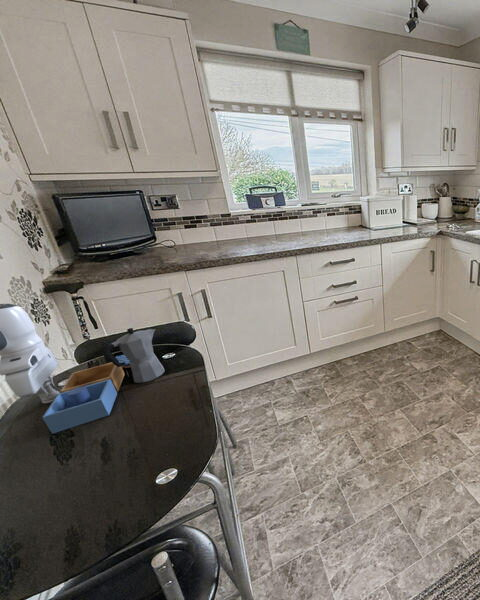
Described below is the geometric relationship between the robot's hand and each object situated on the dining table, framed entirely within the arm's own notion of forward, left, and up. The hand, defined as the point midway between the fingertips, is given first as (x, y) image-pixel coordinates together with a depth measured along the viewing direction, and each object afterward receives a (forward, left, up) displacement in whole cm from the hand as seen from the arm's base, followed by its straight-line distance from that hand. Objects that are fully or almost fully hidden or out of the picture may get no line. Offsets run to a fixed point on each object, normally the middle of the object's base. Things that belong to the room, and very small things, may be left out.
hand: (48, 392), depth 102 cm
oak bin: (+12, -2, -3) cm, 13 cm away
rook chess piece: (0, 0, -3) cm, 3 cm away
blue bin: (+12, -16, -3) cm, 20 cm away
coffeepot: (+25, -4, -3) cm, 26 cm away
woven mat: (+18, +13, -3) cm, 22 cm away
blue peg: (+12, -16, -2) cm, 20 cm away
